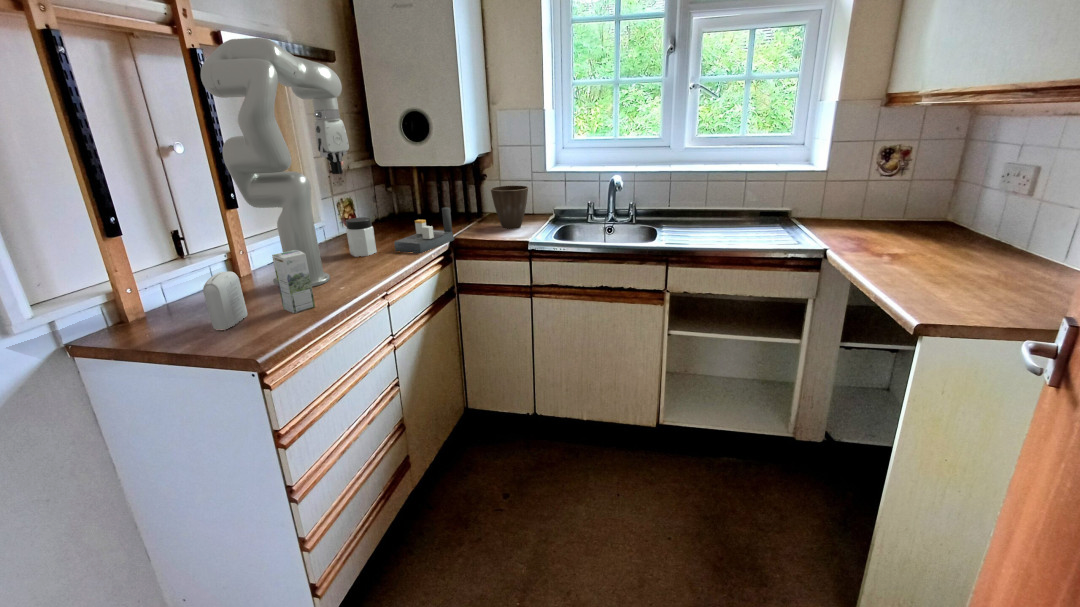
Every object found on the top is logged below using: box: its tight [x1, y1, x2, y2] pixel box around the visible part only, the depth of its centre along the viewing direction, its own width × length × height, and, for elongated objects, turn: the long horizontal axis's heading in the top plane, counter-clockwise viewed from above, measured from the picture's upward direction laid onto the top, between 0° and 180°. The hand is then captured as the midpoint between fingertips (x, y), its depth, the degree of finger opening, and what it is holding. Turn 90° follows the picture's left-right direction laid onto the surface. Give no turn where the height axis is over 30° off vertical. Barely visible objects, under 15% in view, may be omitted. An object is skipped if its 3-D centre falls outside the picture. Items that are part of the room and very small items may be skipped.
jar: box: [345, 217, 377, 258], centre depth 180 cm, size 9×8×12 cm
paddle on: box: [414, 219, 427, 234], centre depth 191 cm, size 2×3×5 cm
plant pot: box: [490, 185, 529, 230], centre depth 211 cm, size 15×15×16 cm
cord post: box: [441, 206, 455, 241], centre depth 195 cm, size 4×4×12 cm
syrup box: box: [272, 250, 316, 314], centre depth 130 cm, size 6×6×14 cm
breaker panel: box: [393, 229, 454, 254], centre depth 189 cm, size 20×11×4 cm, turn 155°
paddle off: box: [421, 225, 434, 239], centre depth 183 cm, size 2×3×4 cm
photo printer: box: [202, 270, 248, 330], centre depth 122 cm, size 10×4×12 cm, turn 3°
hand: (337, 173), depth 176 cm, fingers closed
